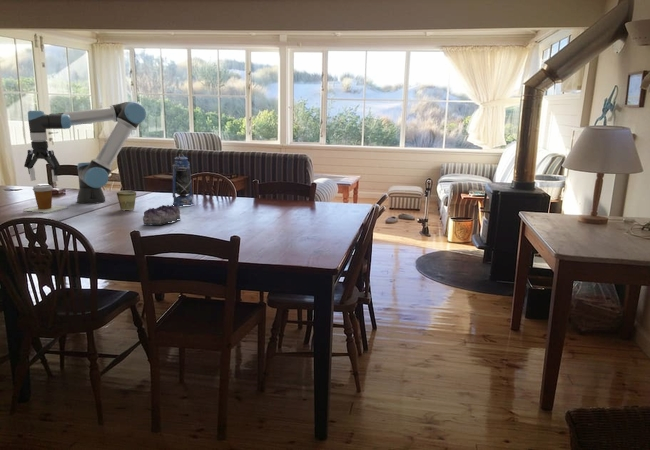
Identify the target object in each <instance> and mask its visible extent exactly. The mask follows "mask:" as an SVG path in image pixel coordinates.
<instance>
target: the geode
mask: <svg viewBox="0 0 650 450" xmlns="http://www.w3.org/2000/svg"><path fill="white" fill-rule="evenodd" d="M177 219H180V220H181V211H180V208H179V207H178V205H177V204H176V205H175V204H174V206H173V205H172V204H171V205H169V204H166V205H163V204H162V205H159V206H158V207H156V208H154V207H152V208H151V207H150V208H148V209H147V210H145V211H144V212H143V216H142V222H143V225H144V224H157V225H156V226H162V225H164V223H165V224H169V223H168V222H172V221H176V222H177V221H178V220H177ZM161 224H162V225H161Z"/></svg>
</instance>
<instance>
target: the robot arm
mask: <svg viewBox="0 0 650 450" xmlns="http://www.w3.org/2000/svg"><path fill="white" fill-rule="evenodd" d="M146 117H147V112H146V109H145V106H143V105H142V104H141V103H140V102H136V101H125V102H120V103H116V104H110V105H109V106H108V107H101V108H100V107H99V108H92V109H82V110H75V111H67V112H57V113H49V114H45V112H44V110H28V111H27V120H28V121H27V122H28V128H29V136H30V141H31V142H30V143H31V148H32V149H28V150H27V156H26V158H25V162H24V168H27V170H28V175H29V179H30V182H35V181H36V180H37V179H36V171H35V168H34V166H35V165H36V163H37V161H38V160H44V161H46V163H47V164H48V165H49V167H50V168H52V169H51V178H52V183H56V182H57V183H58V182H59V179H58V175H59V172H58V171H59V170H58V169H61V168H62V167H61V165H60V163H59V161H58V159H57V157H56V155H55V152H54V150H52V149H51V150H48V149H49V144H48V136H47V130H66V129H67V130H69V129H71V126H79V125H86V124H94V123H103V122H111V121H113V122H114V123H116V122H117V123H116V124H115V126H114V128H113V130H112V131H111V133H110V135H109V136H108V138H107V139H106V141H105V143H104V145H103V146H102V148H101V149H100V151H99V153H98V154H97V156H96V158H93V159H91V160H90V162H79V163H77V168H76V169H77V174H78V175H77V176H78V185H79V188H78V189H79V190H78V193H77V197H76V202H77V203H78V204H87V205H89V204H99V203H100V204H101V203H103V202H106V196H105V194H104V190H103V189H102V187H104V186H105V185H107V183H108V181H109V176H110V175H111V173H112V164H113V163H114V162H115V160H116V158H117V156H118V155H119V153H120V152H121V150H122V148H123V146H124V144H125V142H126V141H127V139H128V138H129V137H130V134H132V133H131V132H132V131H135V130H137V129H138V126H139V125H140V124H141V123H142V122H144V120H145V119H146Z"/></svg>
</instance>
